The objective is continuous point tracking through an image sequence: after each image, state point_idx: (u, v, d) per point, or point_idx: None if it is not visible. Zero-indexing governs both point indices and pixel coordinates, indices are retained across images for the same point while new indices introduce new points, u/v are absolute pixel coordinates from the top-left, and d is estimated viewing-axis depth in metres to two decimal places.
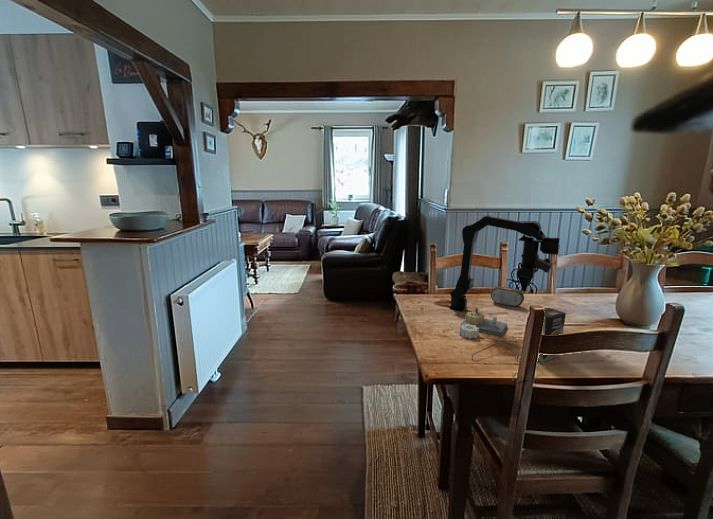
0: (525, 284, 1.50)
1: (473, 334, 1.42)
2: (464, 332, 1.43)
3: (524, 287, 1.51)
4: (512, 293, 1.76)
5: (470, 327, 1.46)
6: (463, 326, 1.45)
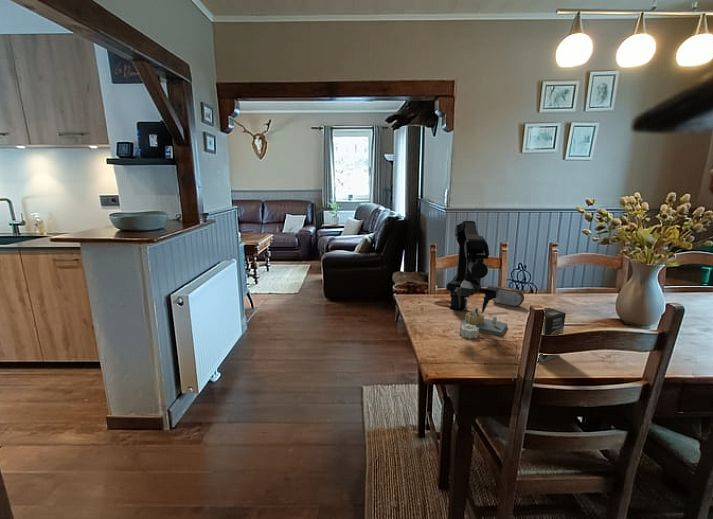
0: None
1: (473, 334, 1.42)
2: (464, 332, 1.43)
3: None
4: (512, 293, 1.76)
5: (470, 327, 1.46)
6: (463, 326, 1.45)
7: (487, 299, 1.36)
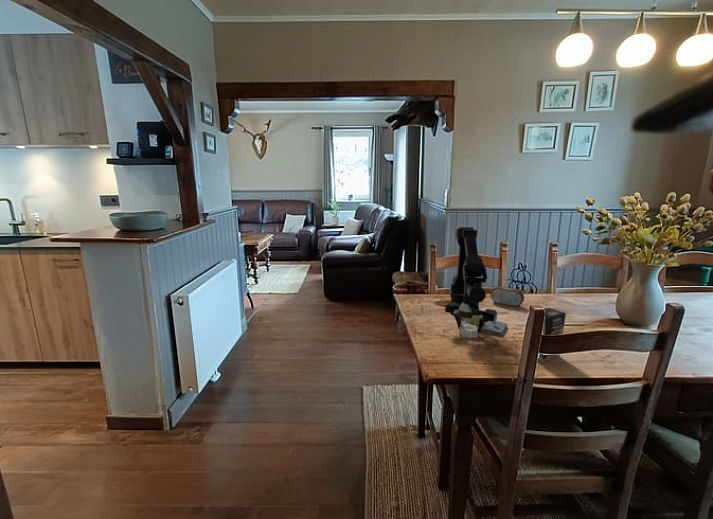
0: None
1: (473, 334, 1.42)
2: (464, 332, 1.43)
3: None
4: (512, 293, 1.76)
5: (470, 327, 1.46)
6: (463, 326, 1.45)
7: (483, 321, 1.39)
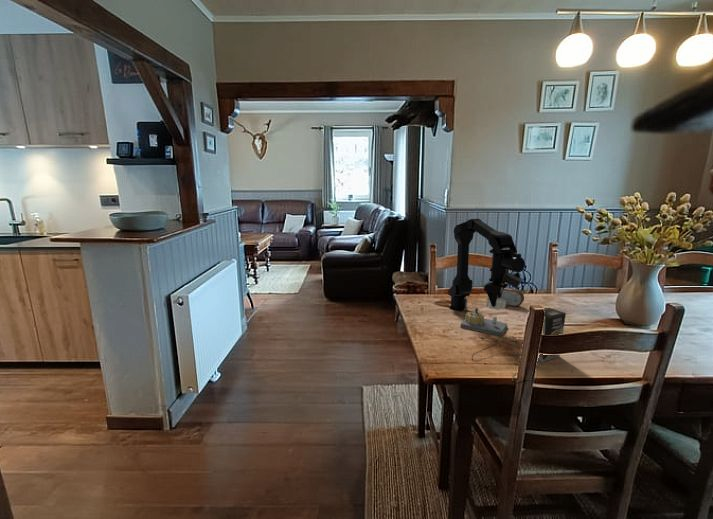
0: (494, 299, 1.43)
1: None
2: None
3: (493, 302, 1.44)
4: (512, 293, 1.76)
5: None
6: None
7: (506, 286, 1.50)
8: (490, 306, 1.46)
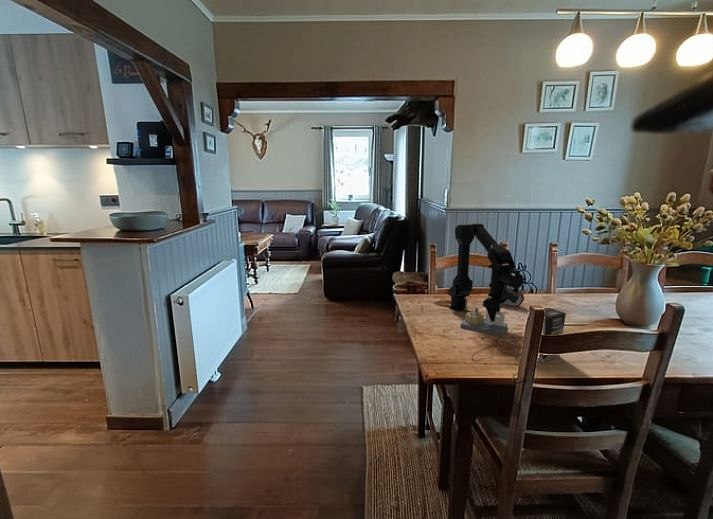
0: (493, 314, 1.45)
1: None
2: None
3: (492, 317, 1.46)
4: None
5: None
6: None
7: (505, 300, 1.51)
8: (489, 321, 1.48)
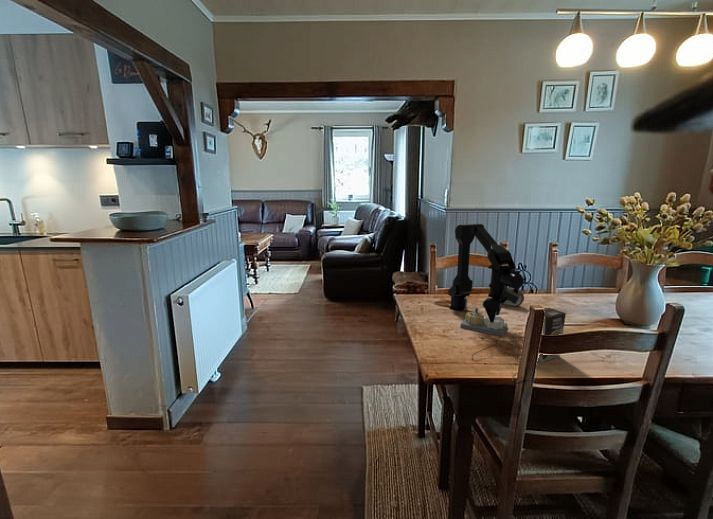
0: (492, 315, 1.44)
1: None
2: None
3: (491, 318, 1.45)
4: None
5: None
6: (494, 320, 1.48)
7: (506, 300, 1.52)
8: (489, 325, 1.48)
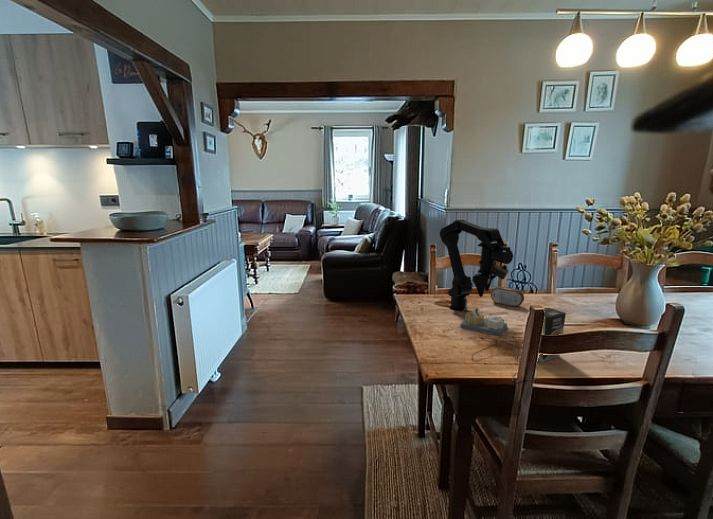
0: (481, 290, 1.53)
1: None
2: None
3: (480, 292, 1.54)
4: (512, 293, 1.76)
5: (490, 319, 1.51)
6: (494, 320, 1.48)
7: None
8: (489, 325, 1.48)
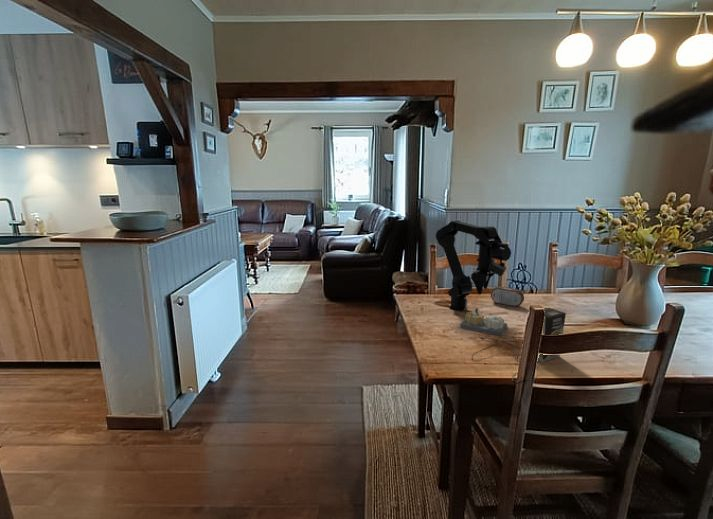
0: (480, 287, 1.55)
1: None
2: None
3: (479, 290, 1.56)
4: (512, 293, 1.76)
5: (490, 319, 1.51)
6: (494, 320, 1.48)
7: (493, 274, 1.63)
8: (489, 325, 1.48)
